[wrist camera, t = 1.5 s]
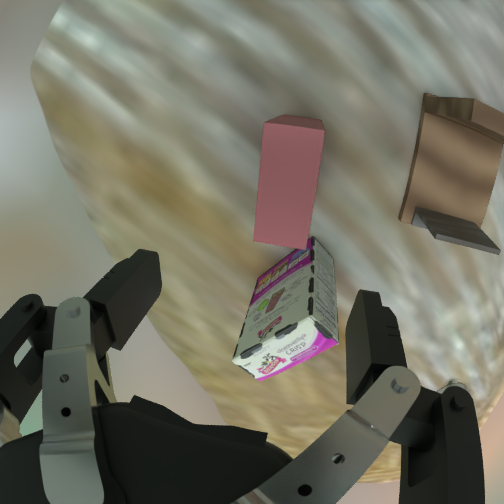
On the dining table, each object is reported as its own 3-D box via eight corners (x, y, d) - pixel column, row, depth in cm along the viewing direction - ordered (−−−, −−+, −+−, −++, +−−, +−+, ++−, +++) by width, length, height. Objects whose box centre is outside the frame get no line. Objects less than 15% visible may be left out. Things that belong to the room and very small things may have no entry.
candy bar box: (279, 298, 45) (260, 384, 31) (257, 277, 44) (227, 361, 30) (336, 258, 40) (341, 346, 26) (313, 234, 39) (308, 316, 25)
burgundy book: (283, 114, 32) (263, 122, 20) (320, 120, 31) (324, 130, 19) (275, 191, 37) (253, 241, 25) (310, 197, 36) (305, 249, 24)
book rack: (423, 92, 26) (474, 93, 15) (501, 125, 24) (561, 145, 13) (398, 218, 35) (428, 271, 24) (472, 236, 33) (513, 288, 22)
